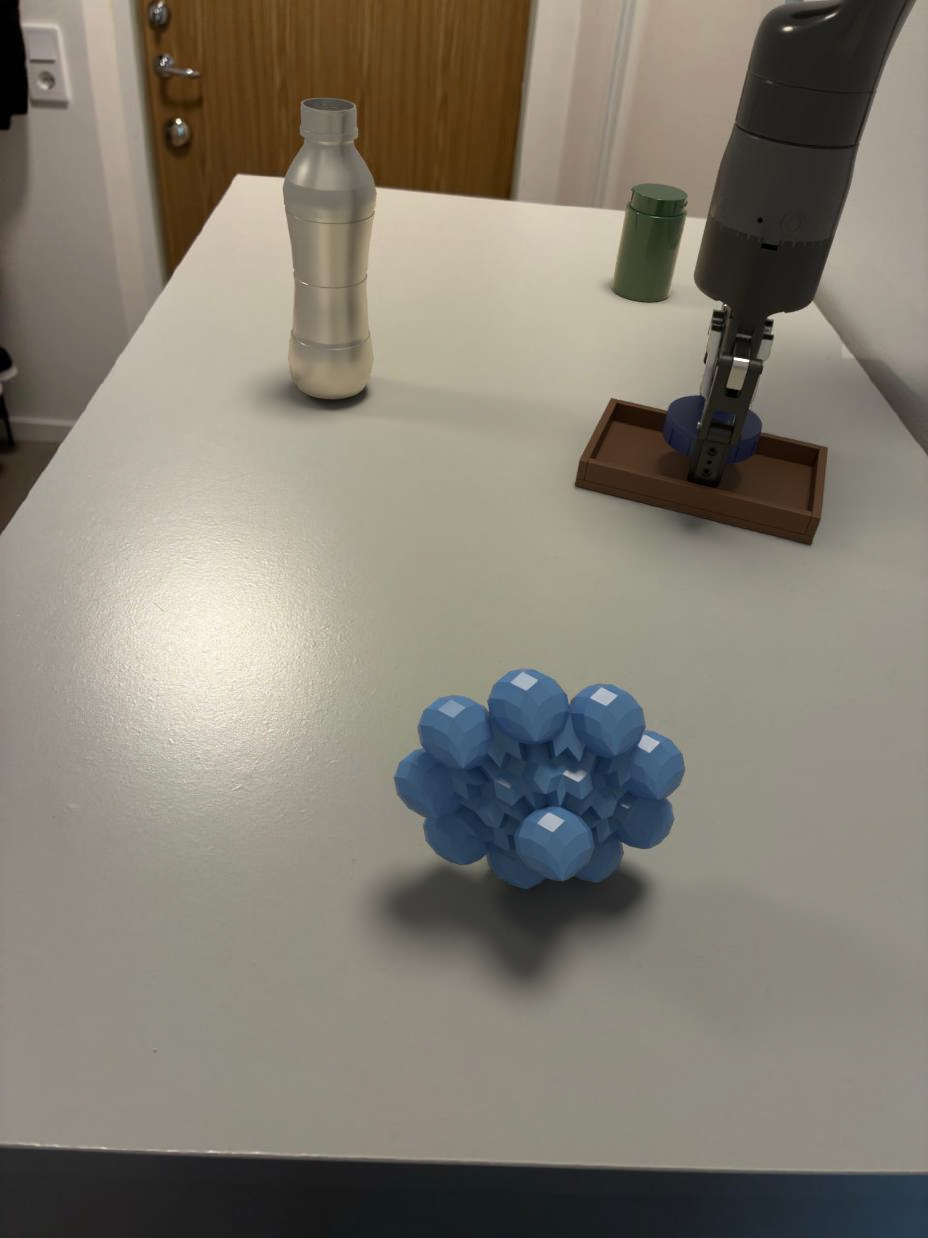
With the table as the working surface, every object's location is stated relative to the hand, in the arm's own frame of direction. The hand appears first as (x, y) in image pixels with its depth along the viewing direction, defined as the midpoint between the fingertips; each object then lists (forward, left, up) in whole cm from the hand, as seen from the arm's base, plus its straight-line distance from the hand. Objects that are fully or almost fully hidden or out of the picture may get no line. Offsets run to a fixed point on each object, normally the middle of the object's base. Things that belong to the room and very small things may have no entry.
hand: (704, 458), depth 67 cm
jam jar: (+11, -34, -2) cm, 36 cm away
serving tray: (0, 0, -2) cm, 2 cm away
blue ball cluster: (+2, +38, -2) cm, 38 cm away
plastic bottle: (+29, 0, -2) cm, 29 cm away
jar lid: (0, 0, +3) cm, 3 cm away
